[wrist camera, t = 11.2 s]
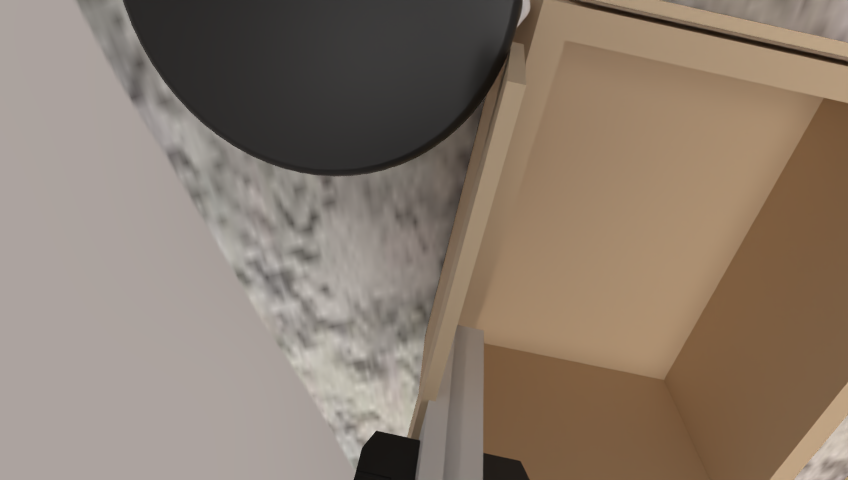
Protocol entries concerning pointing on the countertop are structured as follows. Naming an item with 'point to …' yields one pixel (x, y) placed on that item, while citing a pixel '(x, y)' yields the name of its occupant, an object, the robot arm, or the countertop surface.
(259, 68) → the jar
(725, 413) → the carton
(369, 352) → the countertop surface
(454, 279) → the flap
